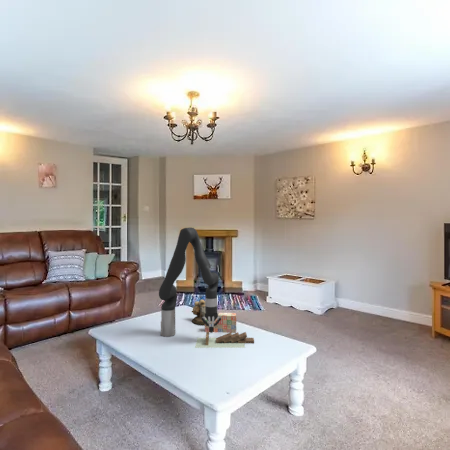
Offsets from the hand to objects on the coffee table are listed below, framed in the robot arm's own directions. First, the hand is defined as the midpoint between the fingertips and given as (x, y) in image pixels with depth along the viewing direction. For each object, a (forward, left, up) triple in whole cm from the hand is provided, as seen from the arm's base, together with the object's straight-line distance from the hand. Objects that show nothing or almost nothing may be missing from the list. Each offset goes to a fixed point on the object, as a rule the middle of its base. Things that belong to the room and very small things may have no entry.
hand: (211, 332), depth 203 cm
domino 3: (+8, 0, -5) cm, 9 cm away
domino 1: (-3, -6, -4) cm, 7 cm away
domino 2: (+3, 0, -5) cm, 6 cm away
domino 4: (+12, 0, -5) cm, 14 cm away
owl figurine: (-10, +39, -7) cm, 41 cm away
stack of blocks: (+5, +20, -7) cm, 21 cm away
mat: (+5, -1, -6) cm, 8 cm away
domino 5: (+16, 0, -5) cm, 17 cm away
